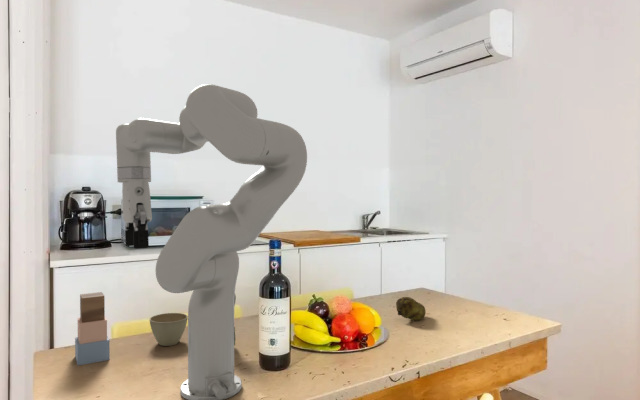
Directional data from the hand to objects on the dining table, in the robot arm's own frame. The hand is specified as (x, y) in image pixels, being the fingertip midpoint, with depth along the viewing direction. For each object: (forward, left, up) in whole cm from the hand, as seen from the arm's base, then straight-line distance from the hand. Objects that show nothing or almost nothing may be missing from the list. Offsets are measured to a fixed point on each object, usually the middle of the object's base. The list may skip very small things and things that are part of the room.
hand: (136, 246), depth 108 cm
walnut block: (+11, +9, -19) cm, 23 cm away
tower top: (+11, +9, -24) cm, 27 cm away
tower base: (+11, +9, -29) cm, 32 cm away
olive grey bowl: (+12, -10, -29) cm, 33 cm away
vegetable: (-1, -22, -29) cm, 37 cm away
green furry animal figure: (-8, -84, -29) cm, 89 cm away
